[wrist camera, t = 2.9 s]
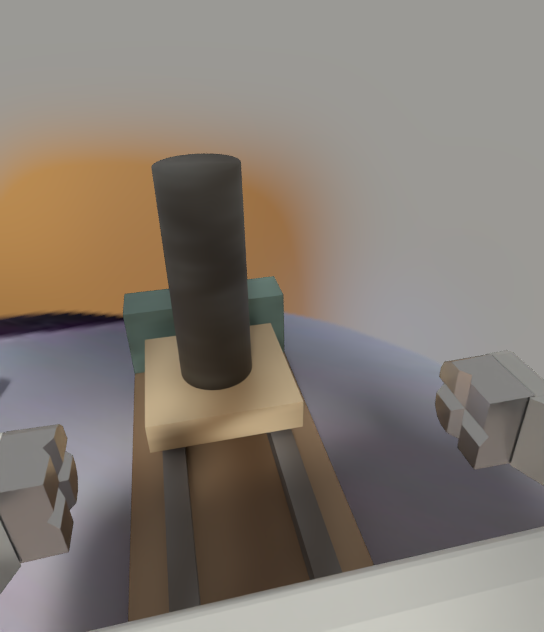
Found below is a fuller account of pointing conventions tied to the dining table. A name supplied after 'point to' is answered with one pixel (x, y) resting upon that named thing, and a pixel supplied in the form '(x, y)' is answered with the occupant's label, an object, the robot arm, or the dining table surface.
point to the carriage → (211, 318)
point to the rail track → (229, 494)
